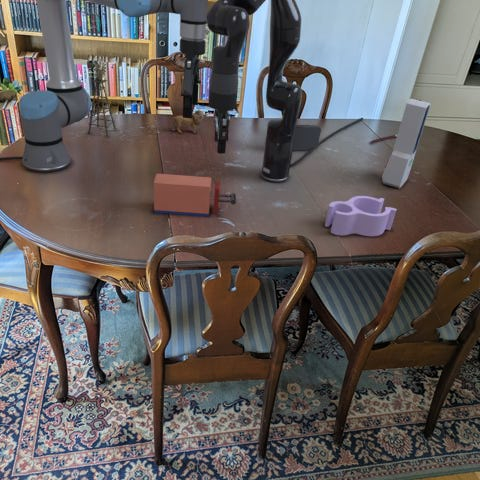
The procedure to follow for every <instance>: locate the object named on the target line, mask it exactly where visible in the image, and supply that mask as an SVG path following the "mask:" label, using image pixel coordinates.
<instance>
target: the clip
mask: <svg viewBox="0 0 480 480" xmlns="http://www.w3.org/2000/svg"><path fill="white" fill-rule="evenodd" d="M384 201H385V198H383V197H379V198H376V197H373V196H368V195H357V196H352V197H350V198H349V200H347V201H339V200H338V201H337V200H335V201H332V202H330V203H329V205H328V208H327V214H326V218H325V222H324V227H326V228H329V227H330V226H331V227H330V233H331V234H333V235H336V236H348V235H353V234H356V235H360V236H364V237H365V236H366V237H378V236H381V235H382V234H384V232H385V230H387V231H391V229H392V226H393V222H394V219H395V216H396V213H397V210H398V209H397V208H395V207H391V206H385V207H384V211H383V212H382V209H383V206H384Z"/></svg>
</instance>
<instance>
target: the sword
mask: <svg viewBox="0 0 480 480" xmlns="http://www.w3.org/2000/svg"><path fill="white" fill-rule="evenodd" d="M397 135H398V133H397V134H396V133H395V134H392V135H389V136H383V137H379V138H377V139H373V140H371V141H370V145H372V144H374V143H377V142H381V141H384V140H389V139H393V138H397Z"/></svg>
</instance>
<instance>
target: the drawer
mask: <svg viewBox="0 0 480 480" xmlns="http://www.w3.org/2000/svg"><path fill="white" fill-rule="evenodd" d="M214 184H215V185H214V196H213V197H214V199H213V214H218V212H219V203H230V204H231V205H233V206H234V205H236V203H237V195H236V193H234V192H232V193H230V194H226V193H225V194H224V193H223V194H221V193H220V184H221V183H220V181H215V183H214ZM211 189H212V188H211ZM211 189H210V192H211ZM221 198H230V199H221ZM210 204H211V203H210ZM210 204H209V208H210Z"/></svg>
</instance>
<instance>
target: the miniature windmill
mask: <svg viewBox="0 0 480 480" xmlns="http://www.w3.org/2000/svg"><path fill="white" fill-rule="evenodd" d="M105 58H106V57H105V56H103V54H102V53H101V54H99V55H97V58H96V60H95V63H96V64H95V63H94V62H90V61H86V66H87V69H94V71H95V73H94V74H96V75H95V76H96V78H95V79H93V80H92V83H95V85H94V87H93V89H94V91H93V98H92V104H91V109H90V116H89V123H88V131H87V132H88V134H91V128H92V126H94V127H95V126H96V127H97V128H99V127H101V128H105V136H106V137H109V132H108V131H109V130H108V127H110V126H111V125H112V126H113V129H114V131H117V127H116V121H115V119H114V117H113V113H112V108H111V106H110V102H109V98H108V96H107V91H106V86H105V85H104V84H105V83H106V82H108V81H109V80H107V79H104V78H105V76H106V72H107V71H106V70H107V63H106V59H105ZM103 93H104V96H103ZM96 94H97V95H96ZM95 101H96V103H95ZM105 101H106V103H107V107H105V104H104V102H105ZM100 102H101V106H100ZM95 106H97V107H96V108H95ZM100 109H102V111H100ZM105 110H106V111H105ZM108 112H109V114H110V119H106V114H107V113H108ZM100 114H102V115H103V118H100ZM95 116H96V118H95V119H93V118H94V117H95ZM100 120H101V121H104V125H101V124H100ZM94 122H96V123H94ZM107 122H110V123H109V124H107Z"/></svg>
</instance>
